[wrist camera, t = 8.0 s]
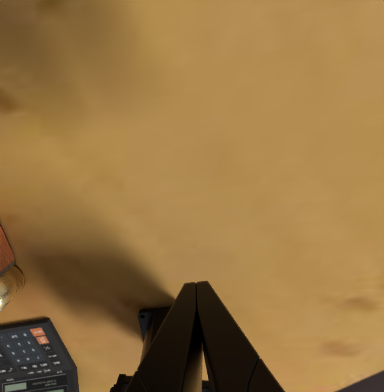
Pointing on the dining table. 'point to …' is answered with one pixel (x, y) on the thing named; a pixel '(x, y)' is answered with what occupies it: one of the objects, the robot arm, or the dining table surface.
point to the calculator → (35, 359)
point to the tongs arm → (8, 273)
